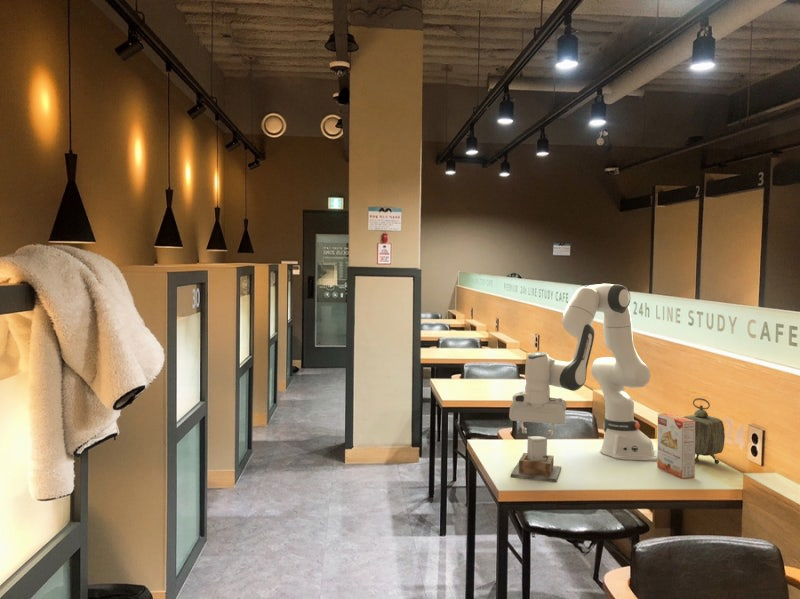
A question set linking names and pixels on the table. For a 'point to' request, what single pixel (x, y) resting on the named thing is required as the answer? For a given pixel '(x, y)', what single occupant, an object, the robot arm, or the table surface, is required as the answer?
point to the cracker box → (676, 445)
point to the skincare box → (537, 449)
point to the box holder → (536, 469)
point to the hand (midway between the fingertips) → (537, 434)
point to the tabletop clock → (707, 433)
